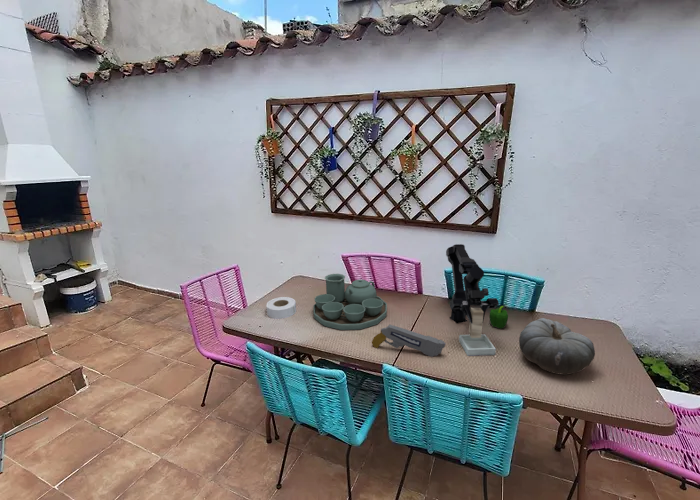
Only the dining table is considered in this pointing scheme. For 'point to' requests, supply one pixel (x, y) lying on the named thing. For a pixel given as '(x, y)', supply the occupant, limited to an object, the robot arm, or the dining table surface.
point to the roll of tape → (281, 307)
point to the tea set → (349, 304)
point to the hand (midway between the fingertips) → (477, 323)
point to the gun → (409, 340)
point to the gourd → (556, 347)
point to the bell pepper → (498, 317)
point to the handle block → (476, 323)
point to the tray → (477, 345)
